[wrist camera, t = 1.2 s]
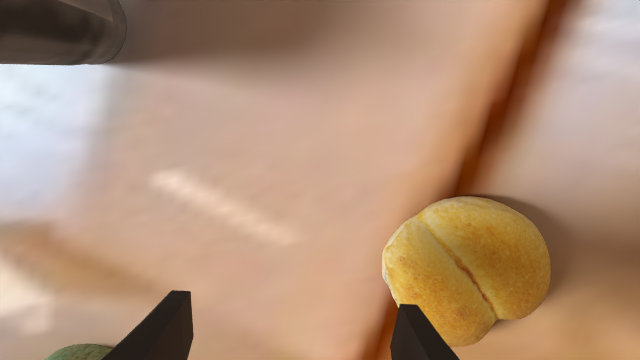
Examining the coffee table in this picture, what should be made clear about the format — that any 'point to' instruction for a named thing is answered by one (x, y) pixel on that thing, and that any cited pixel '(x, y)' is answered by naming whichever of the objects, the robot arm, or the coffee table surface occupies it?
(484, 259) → the bread roll
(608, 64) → the coffee table surface
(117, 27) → the beverage cup
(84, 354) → the decorative artifact
